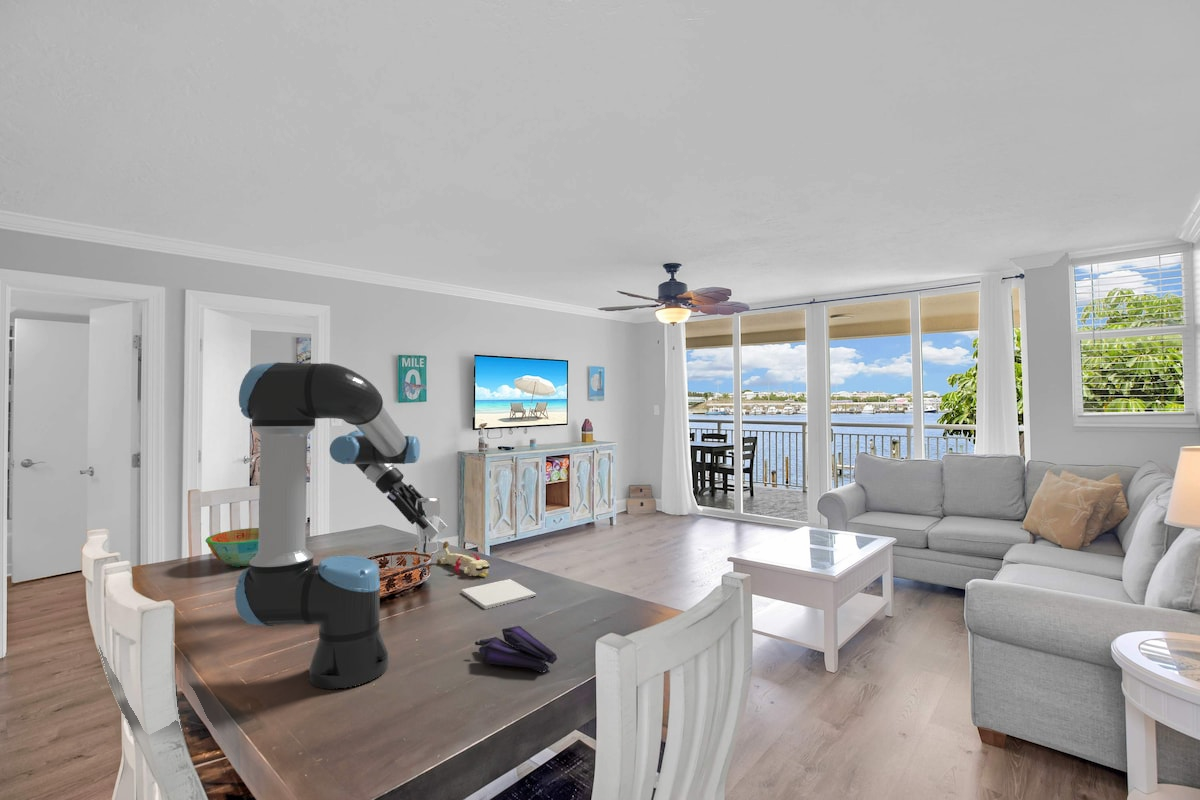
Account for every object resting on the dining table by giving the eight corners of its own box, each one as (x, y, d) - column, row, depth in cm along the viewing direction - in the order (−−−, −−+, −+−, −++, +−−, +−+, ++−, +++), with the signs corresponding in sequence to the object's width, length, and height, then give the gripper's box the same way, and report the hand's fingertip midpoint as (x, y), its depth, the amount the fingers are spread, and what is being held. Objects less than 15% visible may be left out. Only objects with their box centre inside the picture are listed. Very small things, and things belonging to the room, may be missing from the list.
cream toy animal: (431, 569, 194) (472, 580, 177) (430, 543, 194) (471, 551, 177) (456, 563, 201) (498, 573, 184) (455, 538, 201) (497, 545, 184)
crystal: (565, 636, 123) (497, 608, 134) (531, 662, 113) (460, 630, 124) (565, 666, 124) (498, 637, 135) (531, 694, 114) (461, 660, 125)
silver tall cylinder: (444, 551, 164) (445, 499, 164) (422, 555, 159) (423, 502, 159) (431, 546, 169) (432, 496, 169) (410, 551, 163) (410, 499, 163)
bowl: (224, 578, 179) (224, 546, 179) (193, 566, 191) (193, 537, 191) (295, 561, 198) (295, 532, 198) (262, 551, 210) (262, 524, 210)
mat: (536, 596, 163) (536, 593, 163) (485, 609, 154) (485, 605, 154) (510, 582, 176) (510, 579, 176) (461, 592, 167) (461, 589, 167)
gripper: (390, 479, 174) (441, 533, 173) (359, 489, 155) (417, 550, 154) (407, 462, 174) (459, 516, 173) (378, 470, 154) (437, 531, 153)
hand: (439, 532), depth 163 cm, fingers closed on silver tall cylinder, 7 cm apart
